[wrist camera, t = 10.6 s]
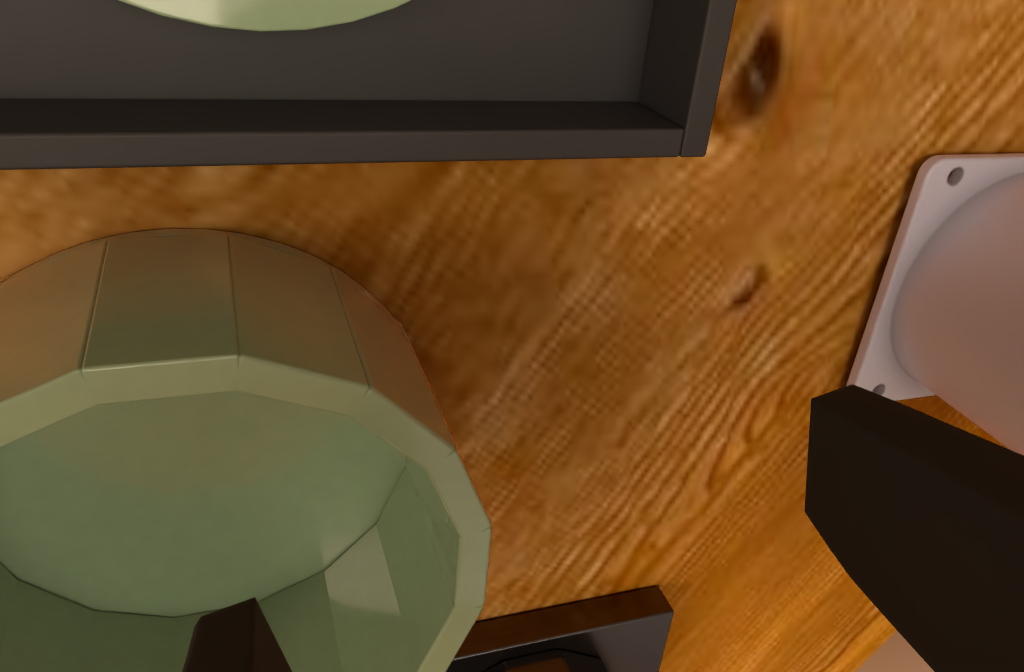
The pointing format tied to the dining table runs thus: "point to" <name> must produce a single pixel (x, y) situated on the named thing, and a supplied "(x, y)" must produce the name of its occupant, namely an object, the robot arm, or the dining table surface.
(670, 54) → the tray
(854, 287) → the dining table surface
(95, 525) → the pot
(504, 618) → the panel
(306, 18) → the lid
